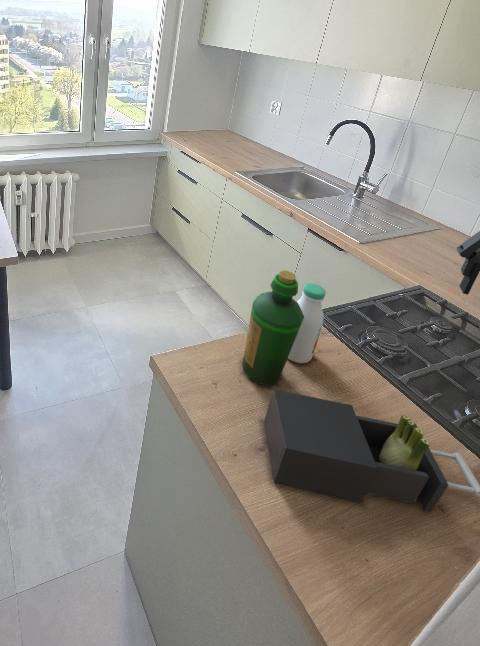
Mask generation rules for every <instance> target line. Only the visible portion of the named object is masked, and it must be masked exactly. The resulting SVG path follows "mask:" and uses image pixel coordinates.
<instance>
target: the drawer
mask: <svg viewBox="0 0 480 646" xmlns="http://www.w3.org/2000/svg"><path fill="white" fill-rule="evenodd" d="M356 416H357V419H358V421H359V424H360V426H361V429H362V431H363V433H364V436H365V438H366V441H367V443H368V446H369V448H370V451H371V453H372V456H373V458H374V461H375V463H376V466H377V471H376V472H375V475H374V477H373V479H372V481H371V483H370V485H369V487H368V489H367V491H366V493H365V494H370V495H374V496H379V497H382V498H387V499H391V500H394V501H395V500H396V501H400V502H404V503H409V504H415V503H416V501H417V500H418V502H419V504H420V506H421V509H422V511H423V512H425V513H426V512H427V513H433V511H434V509H435V507H436V506H437V504H438V503H439V501H440V499H441V498H442V496H443V495H444V493H445V492H446V490H447V488H450V489H454V490H458V491H462V492H467V493H471V494H474V495H475V496H476V497H479V498H480V483H479V481H478V480H477V477H476V476H475V475H474V473H473V472H472V470H471V468H470V466H469V465H468V463H467V462H466V460H465V458H464V456H463V455H462V453H461V452H454V453H450V452H446V451H440V450H436V449H431V448H429V447H430V446H429V447H428V449H427V450H426V452H425V453H424V455H423V457H422V459H421V461H420V464H419V466H418V468H417V470H416V471H415V470H411V469H406V468H402V467H397V466H392V465H388V464H383V463H380V461H379V455H380V452H381V449H382V447H383V445H384V443H385V442H386V440H387V439H388V438H389V437H390V436H391V435H392V434H393V433H394V431H395V430H396V428H397V425H398V423H397V422H396V423H395V422H390V421H385V420H382V419H375V418H373V417H372V418H371V417H366V416H361V415H357V414H356ZM413 423H414V427H413V430H414V428H419V427H418V425H417V423H415V422H413ZM413 430H412V432H413ZM411 434H412V433H411ZM423 438H424V435H423V436H422V438H421V439H423ZM435 456H438V457H441V458H447V459H450V460H451V459H452V460H454V461H455V463H456V464H457V466H458V467H459V469H460V471H461V474H462V475H463V477H464V478H465V480H466V481H467V483H468V485H463V484H459V483H454V482H450V481H447V479H446V477H445V475H444V473H443V472H442V469H441V468H440V466H439V464H438V462H437V460H436V458H435Z"/></svg>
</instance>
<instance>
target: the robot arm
mask: <svg viewBox="0 0 480 646" xmlns="http://www.w3.org/2000/svg"><path fill="white" fill-rule="evenodd" d="M456 251H457V253H458V255H459V256H460V257H461V258H464V261H463V263H462V266H461V268H460V272H461V273H460V274H462V276H463V278H462V279H461V282H460V283H459V288H460V290H461V292H462V294H463V295H466V296H467V295H469V294H470V292H471V289H472V288H473V286H474V284H475V282H476V280H477V277H479V276H478V275H479V273H480V230H479V231H478V232H476V233H474V234H473V235H472V236H470V237H469V238H468V239H466V240H465V241H463V242H462V243H461V244H459V245H458V246H457V247H456Z"/></svg>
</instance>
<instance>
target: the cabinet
mask: <svg viewBox="0 0 480 646" xmlns="http://www.w3.org/2000/svg"><path fill="white" fill-rule="evenodd" d="M356 415H357V414H356V411H355V409H354V407H353V404H350V403H343V402H339V401H334V400H329V399H325V398H324V399H323V398H319V397H314V396H309V395H303V394H299V393H294V392H289V391H284V390H279V389H273V390H272V394H271V397H270V400H269V404H268V407H267V410H266V413H265V416H264V420H263V426H264V431H265V432H264V433H265V439H266V444H267V449H268V450H267V451H268V455H269V456H268V457H269V462H270V467H271V474H272V480H273V483H274V484H278V485H282V486H285V487H286V486H287V487H291V488H295V489H299V490H302V491H303V490H304V491H307V492H312V493H316V494H321V495H325V496H329V497H333V498H337V499H341V500H346V501H351V502H354V503H358V504H361V502H362V501H363V499H364V497H365V495H366V494H367V493H366V491H367V489H368V487H369V485H370V483H371V481H372V479H373V477H374V475H375V472H376V471H377V466H376V463H375V461H374V458H373V456H372V453H371V451H370V448H369V446H368V443H367V441H366V438H365V436H364V433H363V431H362V429H361V426H360V424H359V421H358V419H357V416H358V415H357V416H356Z"/></svg>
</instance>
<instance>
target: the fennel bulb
mask: <svg viewBox="0 0 480 646" xmlns="http://www.w3.org/2000/svg"><path fill="white" fill-rule="evenodd" d="M414 423H415V422H413V421H412V418H410V416H409V415H407V414H405V413H403V414H401V415H400V417H399V421H398V423H397V424H398V425H397V428H396V430H395V431H394V433H393V434H392V435H391V436H390V437H389V438H388V439H387V440H386V442H385V443H384V445H383V447H382V449H381V452H380V455H379V461H380V463H383V464H388V465H392V466H397V467H402V468H406V469H411V470H415V471H416V470H417V468H418V466H419V464H420V461H421V459H422V457H423V455H424V453H425V452H426V450H427V449H428V447H430V446H431V444H430V441H429V440H428V439H427V438H426V437H424V431H423V430H422V429H421V428H419V427H418V428H414V430H413V427H414ZM412 430H413V432H412ZM411 433H412V434H411ZM422 436H423V439H421V438H422Z"/></svg>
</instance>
